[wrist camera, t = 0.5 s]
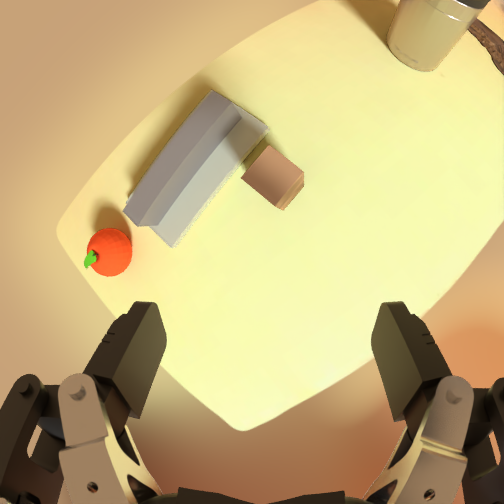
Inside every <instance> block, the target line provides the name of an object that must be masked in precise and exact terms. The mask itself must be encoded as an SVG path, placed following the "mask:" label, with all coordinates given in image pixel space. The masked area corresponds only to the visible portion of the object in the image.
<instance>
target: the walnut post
mask: <svg viewBox="0 0 504 504" xmlns="http://www.w3.org/2000/svg"><path fill="white" fill-rule="evenodd" d="M241 179H243V180H244V181H245V182H246V183H247V184H249V185H250V186H251V187H252V188H254V189H255V190H256V191H257V192H258V193H260V194H261V195H262V196H263V197H264V198H266V199H267V200H268V201H269V202H270V203H272V204H273V205H274V206H275V207H277V208H279V209H281V210H284V209H285V208H286V207H287V206H288V204H289V203H290V202H291V201H292V200H293V199H294V197H295V196H296V195H297V194H298V193H299V192H300V190H301V189H302V188H303V187H304V172H303V171H302V170H301V169H300V168H298V167H297V166H296V165H295V164H293V163H292V162H291V161H289V160H288V159H287V158H286V157H284V156H283V155H282V154H281V153H279V152H278V151H277V150H275V149H274V148H273V147H271V146H270V145H268V146H267V147H266V149H265V150H264V151H263V152H262V153H261V154H260V156H259V157H258V158H257V159H256V160H255V161H254V163H253V164H252V165H251V166H250V167H249V169H248V170H247V171H246V172H245V173H244V175H243V176H242V177H241Z"/></svg>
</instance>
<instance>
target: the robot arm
mask: <svg viewBox="0 0 504 504" xmlns="http://www.w3.org/2000/svg"><path fill="white" fill-rule="evenodd" d="M489 1H490V0H400V2H399V5H398V7H397V10H396V13H395V15H394V18H393V21H392V23H391V26H390V28H389V31H388V34H387V38H386V40H387V44H388V46H389V48H390V50H391V51H392V53H393V54H394V55H395V56H396V57H397V58H398V59H399V60H400V61H401V62H403V63H404V64H406V65H407V66H409V67H411V68H413V69H416V70H419V71H433V70H434V69H436V68H437V67H438V66H439V64H440V63H441V62H442V61H443V59H444V58H445V57H446V56H447V55H448V53H449V52H450V51H451V50H452V49H453V47H454V46H455V45H456V44H457V42H458V41H459V40H460V38H461V37H462V36H463V35H464V33H465V32H466V31H467V30H468V28H469V27H470V26H471V25H472V23H473V22H474V21H475V19H476V18H477V17H478V15H479V14H480V13H481V11H482V10H483V9H484V7H485V6H486V5H487V3H488V2H489ZM166 343H167V337H166V332H165V329H164V326H163V322H162V319H161V316H160V312H159V309H158V306H157V304H156V303H154V302H140V301H136V302H134V303H133V305H132V307H131V308H130V310H129V311H128V313H127V314H122V315H121V316H120V317H119V318H118V319H116V320H115V321H114V322H113V323H112V325H111V326H110V328H109V329H108V331H107V334H105V336H104V338H103V339H102V343H100V344H99V346H98V348H97V349H96V351H95V352H94V354H93V356H92V358H91V360H90V361H89V363H88V364H87V366H86V368H85V370H84V372H83V373H82V374H81V373H79V374H73V375H71V376H69V377H67V378H66V379H65V380H64V381H63V382H62V384H61V385H43V384H42V382H41V381H40V380H39V379H38V377H37V376H35V375H33V374H26V375H23V376H21V377H20V378H19V379H18V380H17V381H16V382H15V383H14V385H13V387H12V389H11V390H10V392H9V394H8V396H7V398H6V400H5V401H4V403H3V405H2V407H1V409H0V504H57V502H58V499H59V495H60V491H61V488H62V484H63V480H65V483H66V487H67V490H68V493H69V496H70V499H71V502H72V504H253V503H249V502H246V501H242V500H238V499H235V498H231V497H228V496H225V495H222V494H219V493H213V492H205V491H198V490H192V489H187V488H181V487H179V489H178V493H172V494H164V495H163V494H162V492H161V490H160V488H159V486H158V485H157V483H156V482H155V480H154V479H153V478H152V476H151V475H150V474H149V472H148V471H147V469H146V468H145V466H144V464H143V462H142V460H141V457H140V455H139V453H138V451H137V448H136V446H135V444H134V442H133V439H132V437H131V434H130V431H129V429H128V427H127V425H126V421H127V419H128V416H129V417H133V418H137V419H140V416H141V413H142V410H143V407H144V405H145V402H146V399H147V396H148V394H149V391H150V388H151V385H152V383H153V380H154V377H155V375H156V372H157V369H158V367H159V364H160V362H161V359H162V356H163V354H164V351H165V348H166ZM371 346H372V351H373V354H374V357H375V360H376V362H377V366H378V369H379V372H380V375H381V378H382V381H383V385H384V388H385V391H386V395H387V398H388V401H389V405H390V408H391V412H392V416H393V419H394V422H397V421H401V420H405V421H406V424H407V426H406V427H405V429H404V431H403V433H402V435H401V437H400V439H399V442H398V443H397V446H396V447H395V449H394V451H393V453H392V455H391V457H390V459H389V461H388V463H387V464H386V466H385V468H384V470H383V471H382V473H381V474H380V476H379V477H378V478H377V479H376V480H375V481H374V483H373V484H372V485H371V487H370V488H369V489H368V491H367V492H366V494H365V495H364V497H363V498H362V499H358V498H353V497H345V493H344V491H338V492H330V493H321V494H311V495H302V496H299V497H295V498H291V499H287V500H284V501H279V502H274V503H269V504H452V503H453V501H454V498H455V496H456V493H457V491H458V488H459V486H460V483H461V481H462V487H463V493H464V501H465V504H504V378H499V379H498V380H496V381H495V383H494V384H493V385H492V387H491V388H487V389H486V388H484V389H483V388H472V387H471V385H470V384H469V383H468V382H467V381H466V380H465V379H463V378H461V377H459V376H453V375H452V373H451V371H450V369H449V367H448V365H447V363H446V361H445V359H444V357H443V355H442V354H441V352H440V350H439V348H438V346H437V344H435V341H434V339H433V337H432V335H430V332H429V330H428V328H427V326H426V325H425V323H424V322H423V321H422V320H421V319H420V318H419V317H417V316H416V315H415V314H410V312H409V311H408V309H407V307H406V305H405V304H404V303H403V302H402V301H398V302H384V303H382V304H381V306H380V309H379V313H378V316H377V319H376V323H375V326H374V329H373V332H372V337H371ZM36 425H38V426H39V427H40V428H41V429H42V431H41V433H40V436H39V439H38V441H37V443H36V446H35V449H34V451H33V454H32V456H31V457H30V458H29V456H28V454H27V447H28V444H29V442H30V439H31V437H32V435H33V432H34V430H35V428H36ZM493 431H494V434H495V437H496V440H497V444H498V447H499V451H500V455H501V460H500V463H499V465H497V463H496V460H495V456H494V452H493V448H492V445H491V442H490V438H489V435H490V434H491V433H492V432H493Z"/></svg>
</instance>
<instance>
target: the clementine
mask: <svg viewBox="0 0 504 504" xmlns="http://www.w3.org/2000/svg"><path fill="white" fill-rule="evenodd" d="M131 258H132V247H131V243H130V241H129V239H128V237H127V236H126V235H125V234H124V233H123V232H121V231H119V230H117V229H113V228H106V229H102V230H100V231H98V232H97V233H95V234H94V235H93V236H92V238H91V239H90V241H89V244H88V247H87V256H86V258H85V261H84V265H85V268H88V266H89V265H91V267H92V268H93V269H94V270H95V271H96V272H97V273H99V274H100V275H103V276H107V277H109V276H116V275H118V274H120V273H122V272H124V270H125V269H126V268H127V267H128V266H129V264H130V262H131Z"/></svg>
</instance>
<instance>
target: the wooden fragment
mask: <svg viewBox="0 0 504 504" xmlns="http://www.w3.org/2000/svg"><path fill="white" fill-rule="evenodd" d="M468 30H469V31H470V32H471V33H472V34H473V35H474V36H475V37H477V39H478V40H479V41H480V43H481V44H482V45H483V46H484V47H486V49H487V50H488V52H489V53H490V54H491V56H492V59H493V61H494V63H495V65H496V66H497V67H498V69H499V70H500V71H501V72H502V73H503V74H504V41H503V40H502V39H501V38H500V37H499V36H498V35H496V34H495V33H494V32H493V31H492V30H491V29H489V28H488V27H487V26H486V25H485V24H483V23H482V22H481V21H480V20H478V19H477V18H476V19H475V21H474V22H473V23H472V25H471V26H470V27H469V28H468Z"/></svg>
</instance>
